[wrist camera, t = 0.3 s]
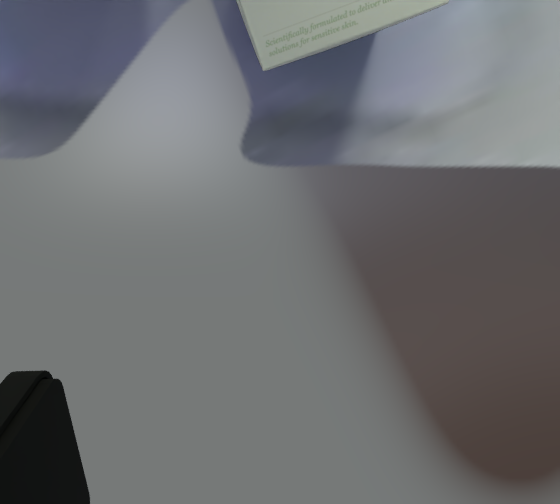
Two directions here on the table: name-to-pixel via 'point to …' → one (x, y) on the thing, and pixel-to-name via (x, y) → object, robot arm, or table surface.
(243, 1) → the skincare box
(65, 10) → the table surface
